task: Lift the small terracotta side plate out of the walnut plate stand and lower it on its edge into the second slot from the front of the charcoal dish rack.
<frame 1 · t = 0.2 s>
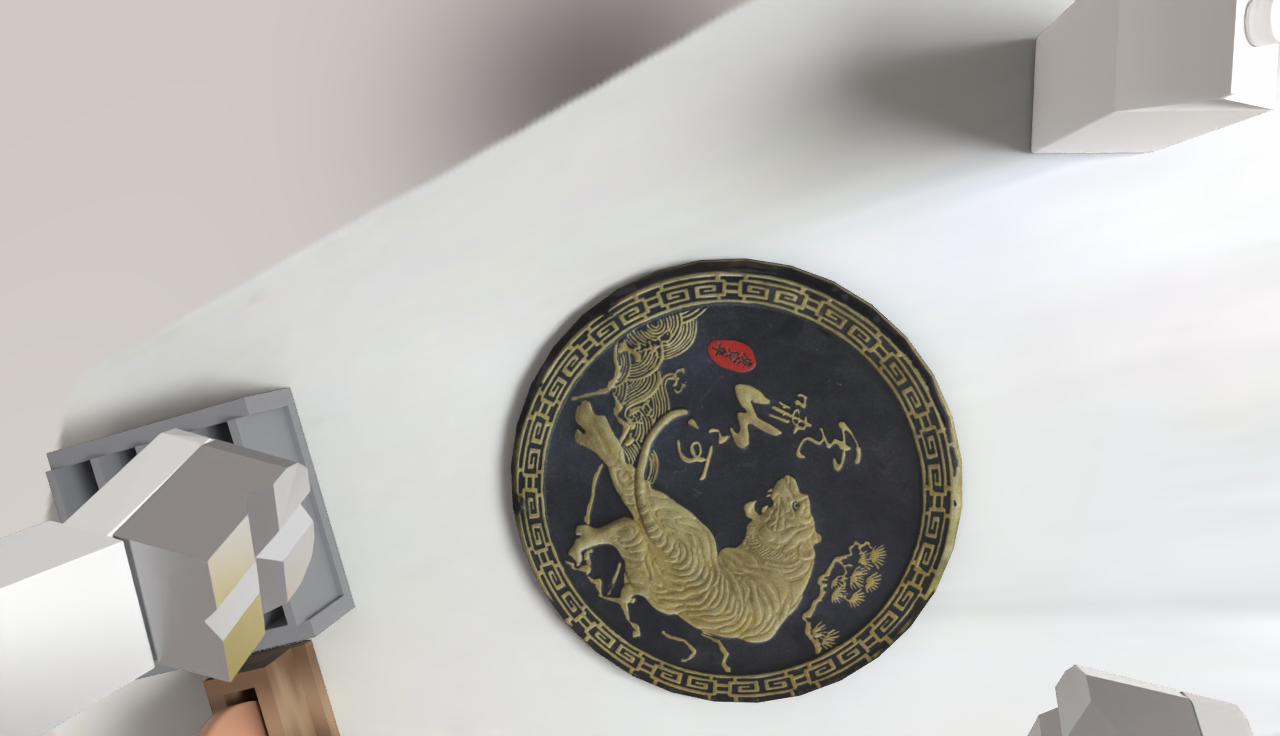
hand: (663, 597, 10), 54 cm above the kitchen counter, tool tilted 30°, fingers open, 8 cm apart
milk carton: (1091, 95, 60), on the kitchen counter
decorative plate: (730, 481, 65), on the kitchen counter
charcoal dish rack: (229, 522, 70), on the kitchen counter
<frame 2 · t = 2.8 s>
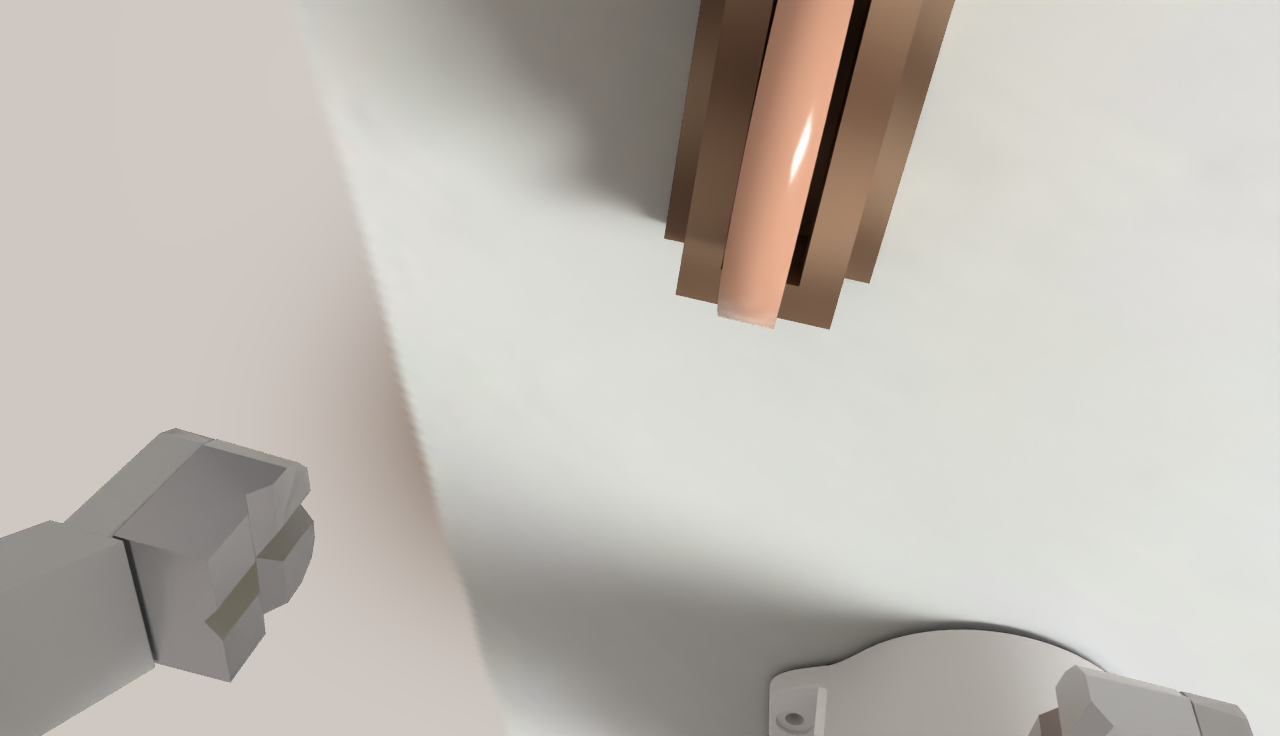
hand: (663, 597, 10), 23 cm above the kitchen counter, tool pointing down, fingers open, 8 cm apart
terracotta plate: (797, 104, 24), point 6 cm above the kitchen counter, touching walnut plate stand
walnut plate stand: (816, 36, 29), on the kitchen counter
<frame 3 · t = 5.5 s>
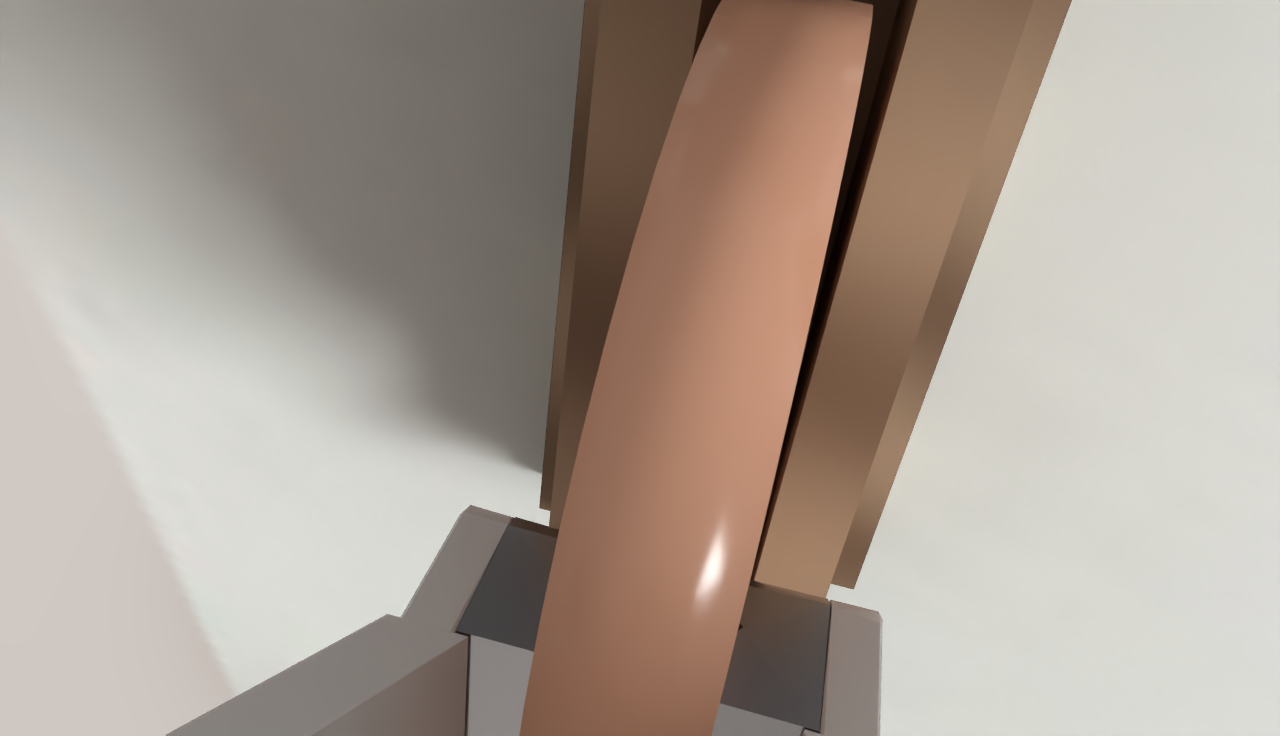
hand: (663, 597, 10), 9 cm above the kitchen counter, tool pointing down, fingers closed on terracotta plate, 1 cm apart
terracotta plate: (704, 447, 12), point 6 cm above the kitchen counter, touching gripper, walnut plate stand
walnut plate stand: (765, 232, 18), on the kitchen counter
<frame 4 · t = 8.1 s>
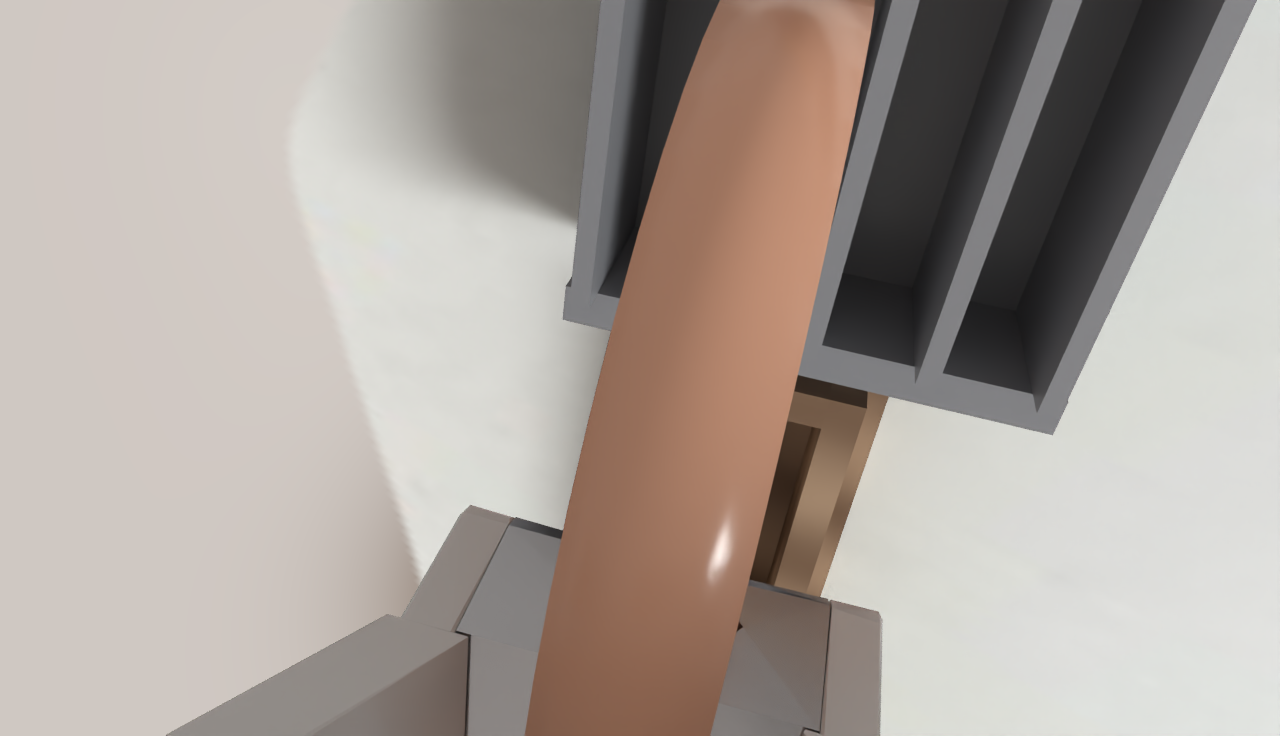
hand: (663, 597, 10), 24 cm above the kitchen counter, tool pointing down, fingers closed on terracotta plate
terracotta plate: (708, 434, 12), point 21 cm above the kitchen counter, touching gripper
walnut plate stand: (764, 473, 39), on the kitchen counter
charcoal dish rack: (877, 52, 29), on the kitchen counter
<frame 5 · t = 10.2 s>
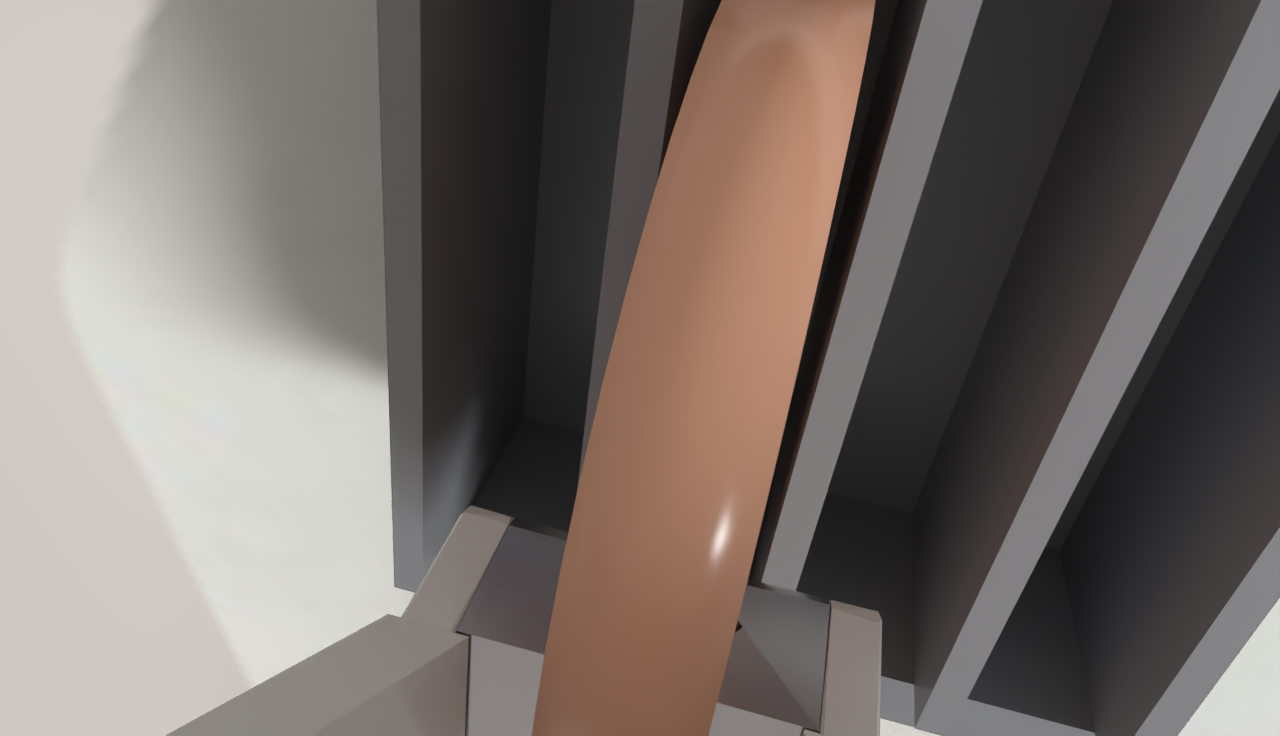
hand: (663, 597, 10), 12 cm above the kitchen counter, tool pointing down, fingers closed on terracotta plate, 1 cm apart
terracotta plate: (711, 421, 13), point 9 cm above the kitchen counter, touching gripper
charcoal dish rack: (858, 196, 20), on the kitchen counter
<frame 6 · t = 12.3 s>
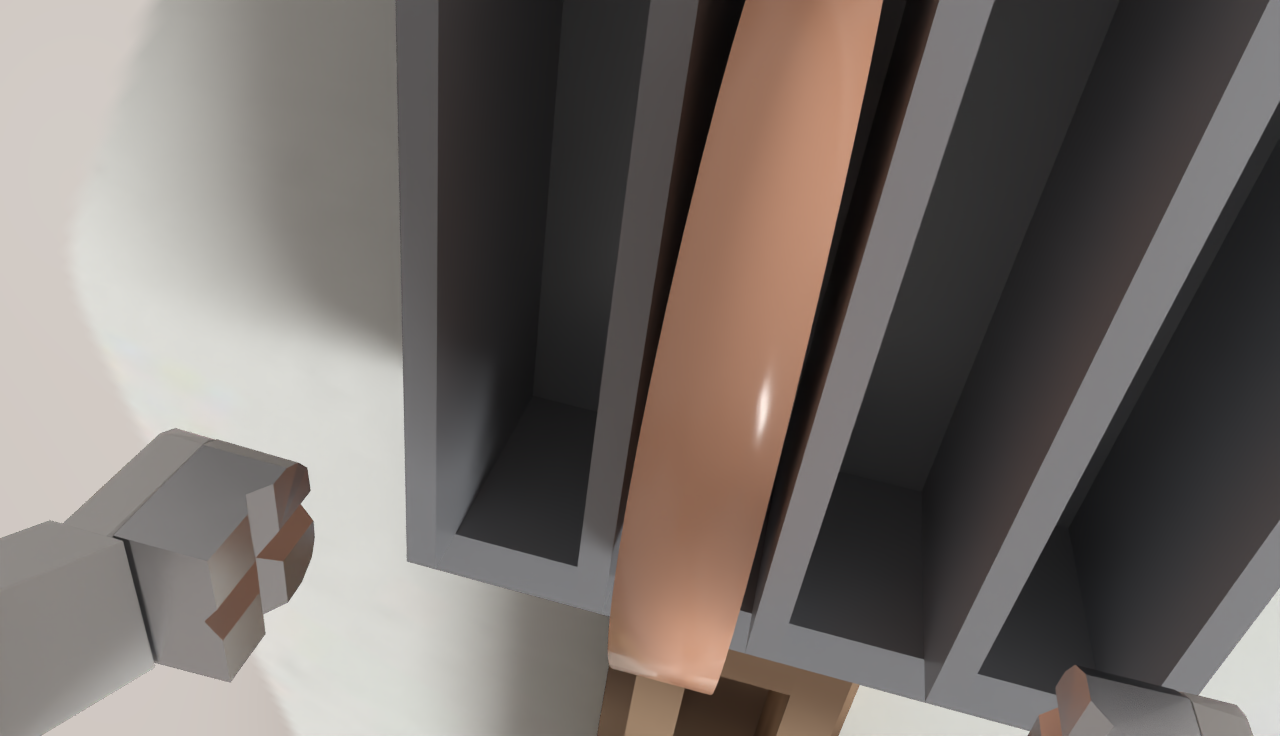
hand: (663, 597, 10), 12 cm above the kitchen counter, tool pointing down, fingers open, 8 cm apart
terracotta plate: (748, 314, 15), point 7 cm above the kitchen counter, touching charcoal dish rack
walnut plate stand: (724, 684, 30), on the kitchen counter
charcoal dish rack: (870, 173, 20), on the kitchen counter
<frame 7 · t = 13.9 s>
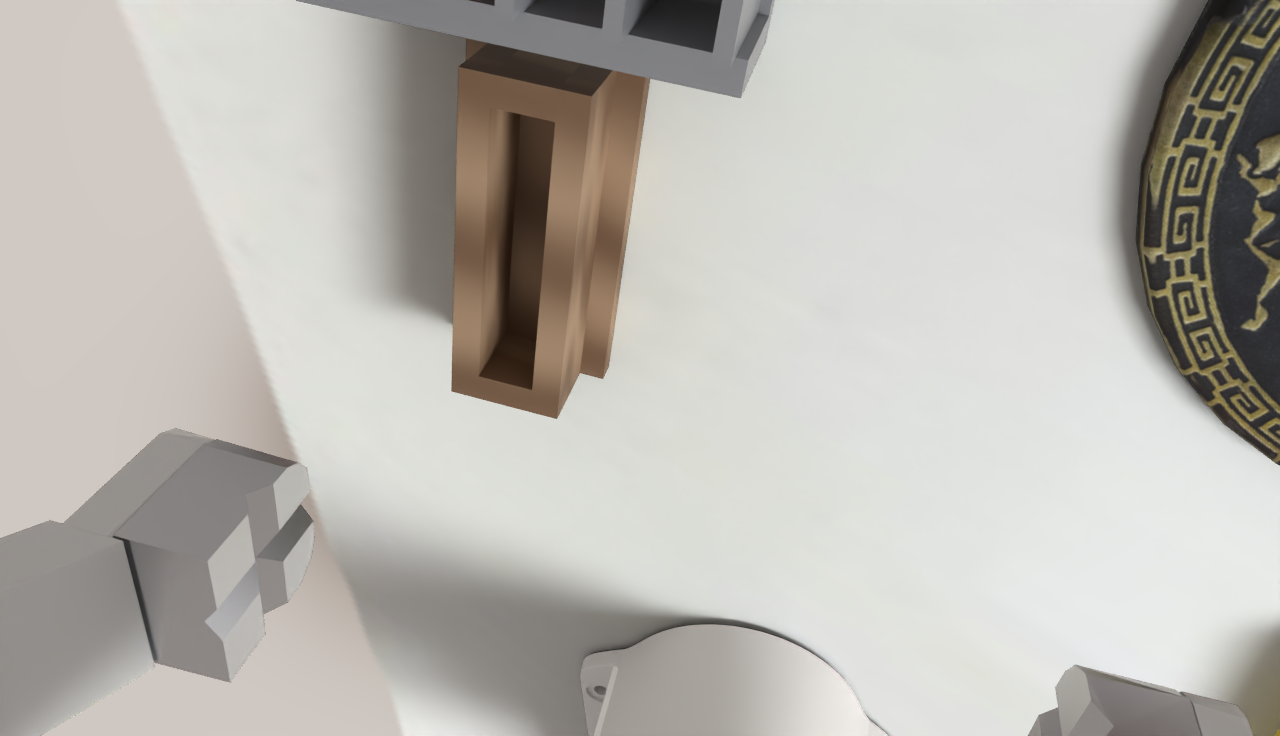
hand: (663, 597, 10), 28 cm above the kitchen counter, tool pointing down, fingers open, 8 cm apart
walnut plate stand: (548, 211, 41), on the kitchen counter
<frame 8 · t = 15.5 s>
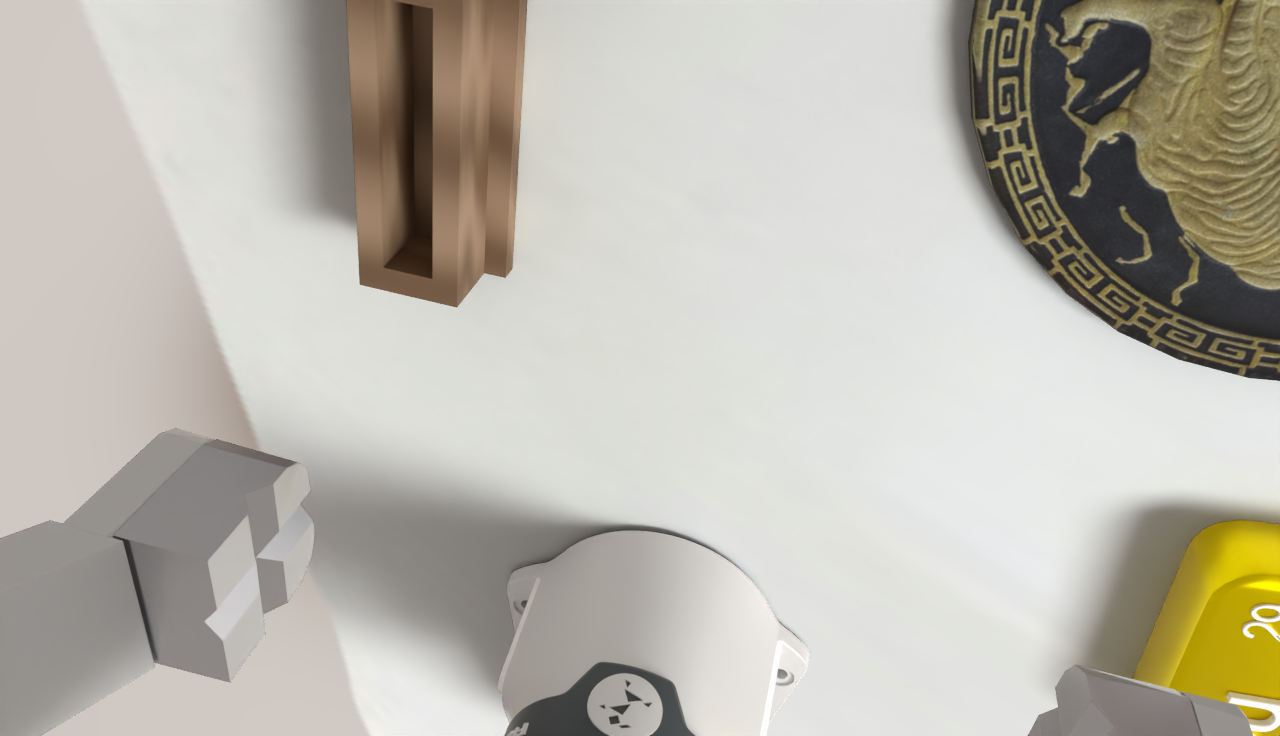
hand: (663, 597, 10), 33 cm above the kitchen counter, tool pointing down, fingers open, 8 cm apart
walnut plate stand: (447, 115, 44), on the kitchen counter
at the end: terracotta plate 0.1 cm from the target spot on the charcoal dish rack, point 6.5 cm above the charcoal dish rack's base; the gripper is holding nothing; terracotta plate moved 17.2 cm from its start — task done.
